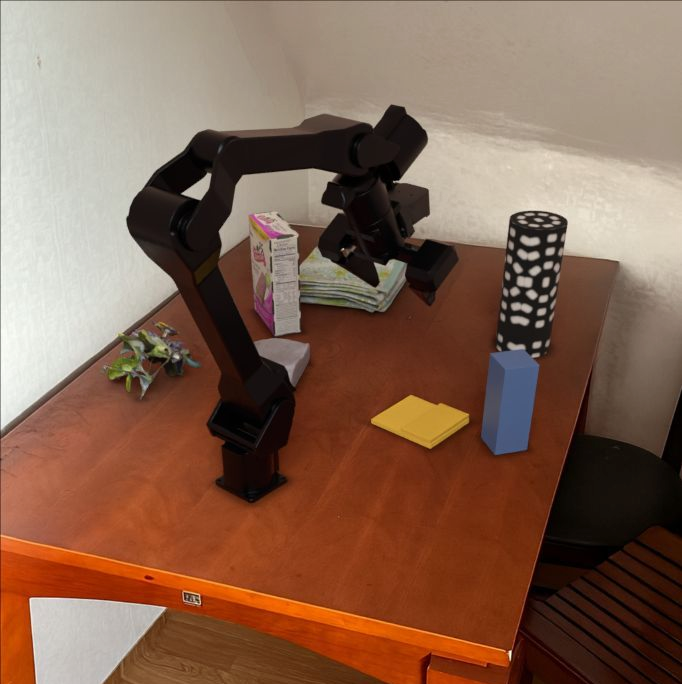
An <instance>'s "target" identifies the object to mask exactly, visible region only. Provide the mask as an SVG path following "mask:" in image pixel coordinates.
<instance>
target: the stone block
mask: <svg viewBox="0 0 682 684" xmlns="http://www.w3.org/2000/svg"><path fill="white" fill-rule="evenodd" d="M253 342H254V344H255V346H256V348H257V351H258V353H259V355H260V356H262V357H265V358H267V359H270V360H272V361H274V362H277V363H279V364H281V365H284V366H285V368H286V369H287V371H288V374H289V379H290V382H291V384H292V385H293V386H294V387H295V388H296V386H297V385H298V383H299V381H300V379H301V377H302V375H303V374H304V371H305V370H306V369H307V366H308V365H309V362H310V359H311V351H310V350H311V346H310V343H308V342H306V343H304V342H301V341H297V340H292V339H289V338H277V337H271V338H268V339H259V340H256V341H253Z"/></svg>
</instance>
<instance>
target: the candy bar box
mask: <svg viewBox="0 0 682 684" xmlns="http://www.w3.org/2000/svg"><path fill="white" fill-rule="evenodd" d="M248 229H249V230H248V231H249V245H250V246H249V247H250V259H251V277H252V292H253V309H254V311H255V312H256V314H257V315H258V316H259V318H260V320H262V322H263V323H264V325H265V326H266V327H267V328H268V330H269V331H270V332H271V334H272V335H273V337H283V336H288V335H293V334H300V333H302V311H301V310H302V308H301V305H302V303H301V301H300V265H301V263H300V234H299V233H298V232H297V231H296V230H295V229H294V228H293V227H292V226H291V225H290V224H289V223H288V222H287V221H286V220H285V219H284V218H283V216H281V214H280V213H279V212H278V211H276V210H274V211H273V210H272V211H264V212H258V213H257V212H254V213H251V214H248Z"/></svg>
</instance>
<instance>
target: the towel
mask: <svg viewBox="0 0 682 684" xmlns="http://www.w3.org/2000/svg"><path fill="white" fill-rule="evenodd" d="M374 264H375V267H376V270H377V273H378V276H379V280H380V283H379V285H378V286H377V287H376V288H374V287H372V286H371V285H369V284H368V283H366V282H364V281H363V280H361V279H360V278H358V277H357V276H355V275H353V274H352V273H350V272H349V271H347V270H345V269H344V268H342V267H340V266H339V265H337V264H335V263H332V262H331V260H330V259H327V258H324V257H322V255H321V253H320V251H319V249H318V245H317V246H316V247H314V249H313V250H312V251H311V252H310V254H309V255H308V256H307V258H305V259H304V260H303V262H301V263H300V301H301V304H312V305H313V304H314V305H323V306H324V305H325V306H332V307H333V306H335V307H345V308H352V309H359V310H365V311H367V312H369V313H374V312H375V311H377V312H379V313H384V312H386V311H387V309H388V308H390V306H391V305H392V304H393V301H394V300H395V298H396V296H397V295H398V294H399V292H400V291H401V289H402V288H403V286H404V285H405V283H406V282H407V280H406V278H405V272H406V267H407V263H404V262H401V261H398V260H395V259H393V260H390V261H389V262H388V263H387V265H386V266H384V265H381V264H377V263H374Z"/></svg>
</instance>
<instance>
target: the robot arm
mask: <svg viewBox="0 0 682 684" xmlns="http://www.w3.org/2000/svg"><path fill="white" fill-rule="evenodd" d="M428 144H429V137H428V132H427V130H426V129H424V128H423V126H422V125H421V124H420V123H419V122H418V121H417V120H416V118H414V117H413V116H411V115H410V114H408V112H407V110H406V107H405V106H402V105H397V104H392V103H391V104H390V105H388V107H387V109H386V110H385V112H384V113H383V115H382V117H381V118H380V119H379V121H378V122H377V123H376V124H375V126H373V125H372V124H371V123H369V122H365V121H360V120H356V119H351V118H348V117H342V116H338V115H335V114H334V115H333V114H330V113H321V114H318V115H315V116H311V117H308V118H305V119H303V120H302V121H301V122H300V124H299V125H296V126H292V127H281V128H279V127H278V128H257V129H241V130H240V129H239V130H238V129H237V130H215V129H210V128H207V129H204V130H201V131H197V132H196V133H195V135H193V137H192V138H191V140H190V141H189V142H188V144H187V145H186V146H185V148H184V149H183V150H182V151H181V152H179V153H178V154H177V155H175V156H173V157H172V158H170V160H168V161H167V162H166V163H164V164H163V165H161V166H160V167H158V168H157V169H156V170H155V171H154V172H153V173H152V174H151V176H150V177H149V179H148V180H147V182H146V183H145V184H144V186H143V187H142V188H141V190H139V191H138V192H137V194H135V196H134V197H133V199H132V201H131V204H130V206H129V209H128V214H127V215H126V217H125V222H126V228H127V230H128V233H129V235H130V237H131V238H132V239H133V240H134V242H135V243H136V244H137V246H138V247H139V248H140V249H141V250H142V252H143V253H144V254H145V256H146V257H147V258H148V259H150V260H151V262H153V263H154V264H155V265H156V266H157V267H158V268H159V269H161V270H162V272H164V273H166V274H167V276H169V277H170V278H171V280H172V281H173V282H174V285H175V286H176V288H177V290H178V292H179V295H180V296H181V298H182V300H183V302H184V304H185V306H186V308H187V309H188V311H189V313H190V315H191V317H192V319H193V321H194V323H195V325H196V327H197V329H198V331H199V332H200V335H201V336H202V338H203V340H204V343H205V344H206V346H207V348H208V351H209V352H210V354H211V356H212V358H213V359H214V361H215V363H216V365H217V368H218V370H219V371H220V376H219V381H218V385H217V391H218V393H219V399H218V401H217V403H216V405H215V407H214V409H213V411H212V413H211V414H210V416H209V417H208V420H207V422H206V423H205V425H206V427H207V430H208V432H209V434H210V436H212V437H214V438H217V439H219V440H221V441H224V442H225V443H223V444H221V445H220V447H221V460H222V472H223V475H221V476H219V477H218V478H216V479H215V485H216V486H218V487H220V488H222V489H223V490H226V491H227V492H229V493H230V494H232V495H234V496H236V497H239V498H240V499H242V500H244V501H246V502H247V503H249V504H250V503H251V504H252V503H255V502H257V501H258V500H261V498H263V497H265V496H266V495H268V494H269V493H271V492H273V491H274V490H276V489H278V488H279V487H281V486H282V485H284V484H286V483H287V481H288V478H287V476H286V475H283V474H282V473H280V472H279V471H280V458H279V457H280V455H279V453H280V452H279V451H280V450H281V449H283V448H285V447H287V446H288V443H289V439H290V434H291V430H292V426H293V423H294V417H295V412H296V406H297V401H296V396H295V394H294V392H296V391H297V387H296V386H295V387H294V386H293V385H292V384H291V382H290V379H289V374H288V371H287V369H286V368H285V366H284V365H281V364H279V363H277V362H274V361H272V360H270V359H267V358H265V357H262V356H260V355H259V353H258V351H257V348H256V346H255V344H254V342H255V341H254V340H253V338H252V336H251V334H250V331H249V329H248V327H247V324H246V322H245V321H244V318H243V316H242V314H241V312H240V310H239V307H238V305H237V303H236V301H235V298H234V296H233V295H232V292H231V290H230V287H229V285H228V283H227V282H226V279H225V277H224V275H223V273H222V270H221V268H220V266H219V261H220V258H221V257H220V256H221V252H222V247H223V242H222V238H221V234H220V230H221V229H222V227H223V226H224V225H225V223H226V222H227V220H228V219H229V217H230V216H231V214H232V212H233V206H234V199H235V193H236V186H237V184H238V183H239V182H240V180H241V179H242V177H243V176H248V175H249V176H251V175H260V174H261V175H262V174H269V173H270V174H272V173H280V172H290V171H300V170H312V169H313V170H318V171H324V172H328V173H333V174H335V176H334V177H333V178H332V180H331V181H327V183H326V187H325V190H324V191H323V193H322V194H321V199H320V203H321V205H324V206H326V207H330V208H334V209H337V210H340V211H342V212H337V214H336V215H335V216H334V217H333V219H332V220H331V221H330V222H329V224H328V225H327V226H326V228H325V229H324V230H323V231H322V232H321V234H320V235H319V237H318V239H317V246H318V249H319V251H320V253H321V255H322V257H324V258H327V259H330V260H331V262H332V263H335V264H337V265H339V266H340V267H342V268H344V269H345V270H347V271H349V272H350V273H352V274H353V275H355V276H357V277H358V278H360V279H361V280H363V281H364V282H366V283H368V284H369V285H371V286H372V287H374V288H376V287H377V286H378V285H379V283H380V280H379V276H378V273H377V270H376V267H375V264H374V263H377V264H381V265H384V266H386V265H387V263H388V262H389V261H390V260H393V259H395V260H398V261H401V262H404V263H407V267H406V272H405V278H406V282H407V283H408V287H407V288H408V289H410V291H412V293H414V295H416V296H417V298H419V299H420V301H422V303H424V305H426V306H427V307H432V306H433V305H434V303H435V300H436V295H437V291H438V290H439V288H440V287H441V285H443V283H444V282H445V280H446V279H447V278H448V276H449V275H450V273H451V272H452V270H453V269H454V268H455V266H456V265H457V264H458V262H459V261H460V258H459V255H458V252H457V249H456V246H455V244H452V243H448V242H445V241H441V240H438V239H435V238H426V239H425V240H424V241H423V243H422V244H421V245H420V246H419V245H417V244H413V243H410V242H406V239H411V238H412V236H413V235H414V234H415V232H416V230H415V228H414V225H416V224H417V223H419V222H420V221H422V220H423V219H424V218H428V217H429V216H430V215H431V206H430V205H431V204H430V203H431V202H430V190H429V188H427V187H424V186H419V185H416V184H412V183H408V182H399V181H401V179H402V178H403V177H404V175H405V174H406V173H407V172H408V170H409V169H410V168H411V166H412V165H413V164H414V162H415V161H416V160H417V159H418V158H419V156H420V155H421V153H422V152H423V151H424V150H425V148H426V147H427V145H428ZM208 174H210V180H209V186H208V188H207V190H206V192H205V194H203V196H202V198H201V199H198V198H196V197H193V196H188V195H185V194H183V193H185V192H186V191H188V190H189V189H190V188H192V187H193V186H195V185H196V184H197V183H199V182H200V181H202V180H203V179H204V178H205V177H206V176H207V175H208Z"/></svg>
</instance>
